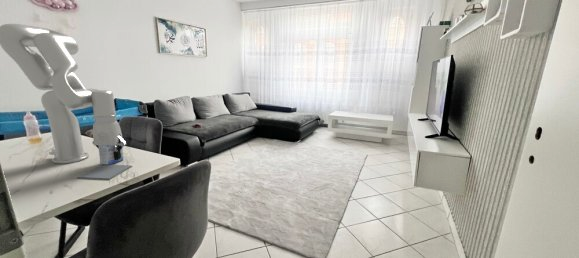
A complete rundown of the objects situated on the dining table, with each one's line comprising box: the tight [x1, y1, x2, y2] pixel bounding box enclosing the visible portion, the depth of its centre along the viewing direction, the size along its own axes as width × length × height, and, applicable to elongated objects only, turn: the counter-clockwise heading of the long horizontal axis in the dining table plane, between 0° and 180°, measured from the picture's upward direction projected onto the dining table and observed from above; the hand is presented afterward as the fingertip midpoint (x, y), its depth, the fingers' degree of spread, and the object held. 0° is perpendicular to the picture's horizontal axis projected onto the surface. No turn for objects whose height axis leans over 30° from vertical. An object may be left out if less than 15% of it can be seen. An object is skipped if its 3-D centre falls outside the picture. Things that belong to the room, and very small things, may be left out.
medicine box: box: [98, 143, 124, 165], centre depth 109 cm, size 8×4×9 cm, turn 169°
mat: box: [76, 164, 133, 181], centre depth 100 cm, size 13×13×1 cm
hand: (111, 158), depth 110 cm, fingers closed on medicine box, 5 cm apart
